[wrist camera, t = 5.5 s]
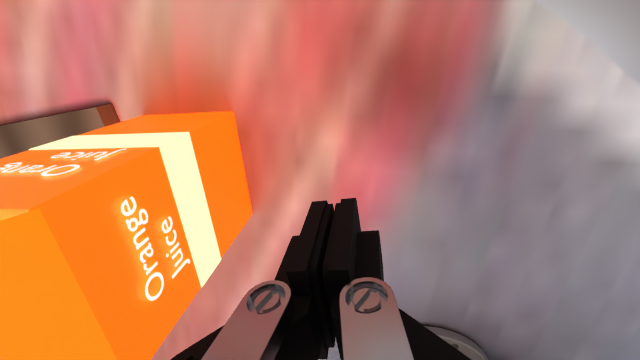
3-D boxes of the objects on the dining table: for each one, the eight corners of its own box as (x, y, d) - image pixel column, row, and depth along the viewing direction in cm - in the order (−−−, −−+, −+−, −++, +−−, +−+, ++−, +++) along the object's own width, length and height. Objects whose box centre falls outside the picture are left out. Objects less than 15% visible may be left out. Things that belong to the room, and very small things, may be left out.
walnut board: (111, 103, 23) (95, 107, 22) (185, 267, 29) (176, 278, 28) (-68, 139, 27) (-91, 144, 26) (29, 275, 33) (15, 285, 32)
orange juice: (172, 212, 27) (-245, 565, 9) (141, 114, 23) (-682, 359, 5) (255, 214, 25) (-31, 632, 7) (235, 109, 22) (-415, 420, 4)
